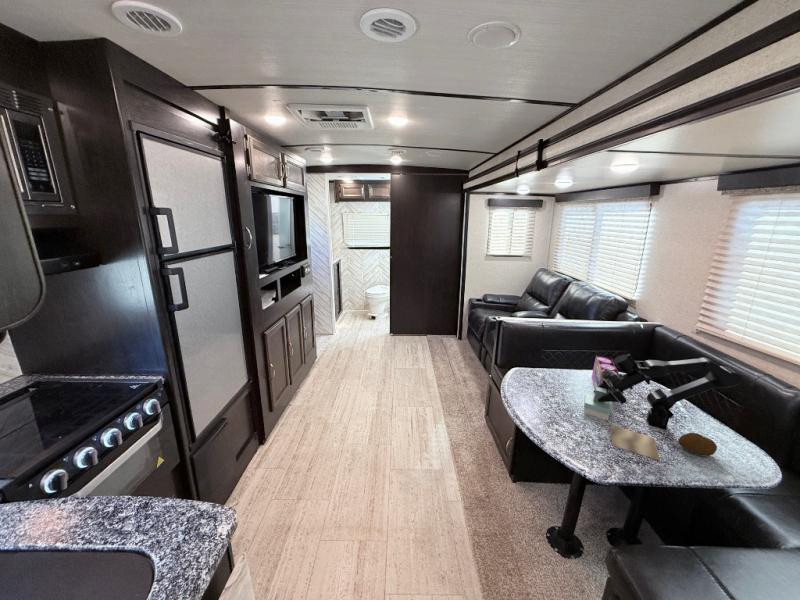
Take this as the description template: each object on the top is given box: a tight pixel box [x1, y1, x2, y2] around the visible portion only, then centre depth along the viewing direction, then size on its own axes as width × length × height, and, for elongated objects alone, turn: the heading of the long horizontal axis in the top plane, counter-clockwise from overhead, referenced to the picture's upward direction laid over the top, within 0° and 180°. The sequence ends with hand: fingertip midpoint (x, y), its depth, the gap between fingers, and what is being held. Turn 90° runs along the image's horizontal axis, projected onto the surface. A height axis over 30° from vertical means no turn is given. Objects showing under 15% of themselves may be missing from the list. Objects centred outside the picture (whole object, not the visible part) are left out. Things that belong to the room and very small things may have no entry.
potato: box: [677, 432, 718, 457], centre depth 121 cm, size 8×12×8 cm, turn 87°
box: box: [584, 408, 610, 421], centre depth 145 cm, size 9×9×4 cm
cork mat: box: [610, 424, 661, 462], centre depth 126 cm, size 15×15×1 cm
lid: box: [583, 387, 613, 416], centre depth 144 cm, size 11×11×8 cm
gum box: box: [591, 355, 620, 394], centre depth 166 cm, size 24×8×14 cm, turn 155°
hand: (596, 396), depth 144 cm, fingers open, 7 cm apart
